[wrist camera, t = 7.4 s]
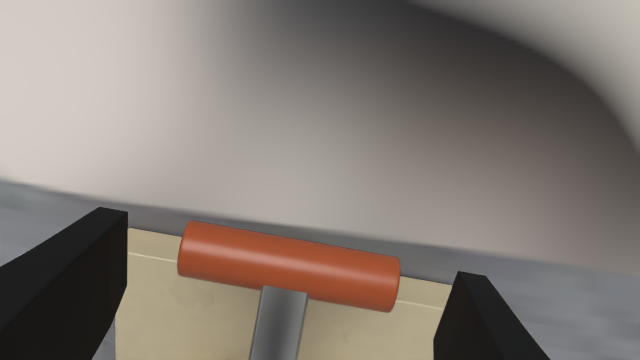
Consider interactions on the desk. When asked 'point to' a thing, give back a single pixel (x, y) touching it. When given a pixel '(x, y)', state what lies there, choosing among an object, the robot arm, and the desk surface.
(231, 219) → the desk surface
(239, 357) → the bracket
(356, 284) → the lever
